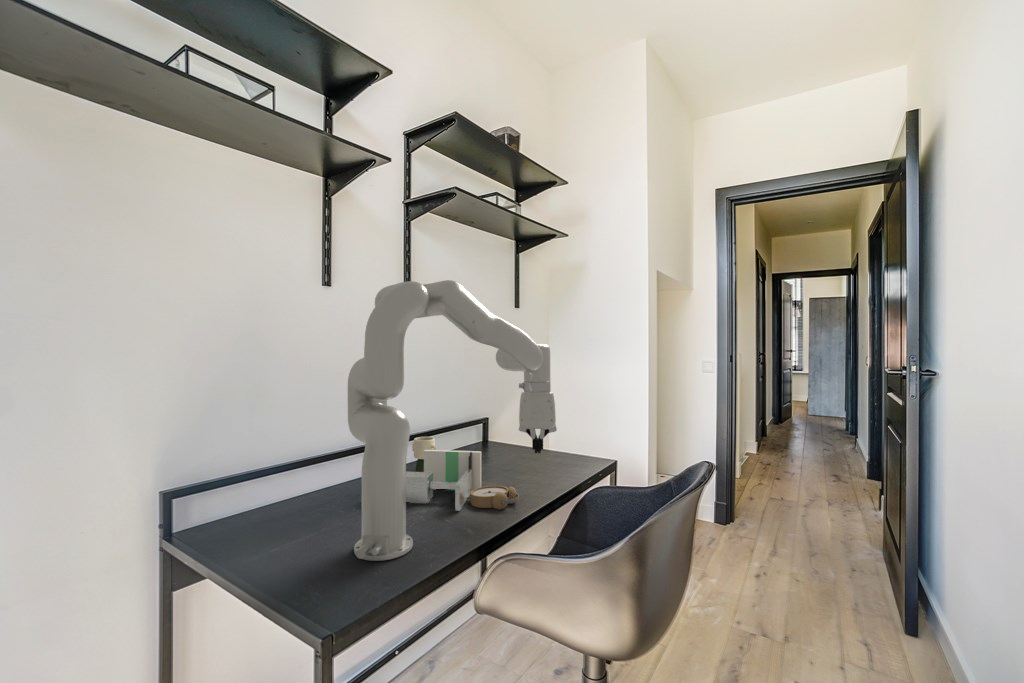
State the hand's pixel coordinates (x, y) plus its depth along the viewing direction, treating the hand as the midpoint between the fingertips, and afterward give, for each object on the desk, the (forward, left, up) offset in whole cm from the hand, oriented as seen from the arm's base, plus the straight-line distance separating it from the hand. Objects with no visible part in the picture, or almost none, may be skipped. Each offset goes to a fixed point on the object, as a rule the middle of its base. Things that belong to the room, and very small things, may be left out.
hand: (537, 452), depth 131 cm
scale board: (+10, +27, -15) cm, 33 cm away
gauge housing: (0, +37, -15) cm, 40 cm away
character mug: (+23, +40, -15) cm, 49 cm away
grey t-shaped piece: (0, +26, -15) cm, 30 cm away
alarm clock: (0, +12, -15) cm, 20 cm away
